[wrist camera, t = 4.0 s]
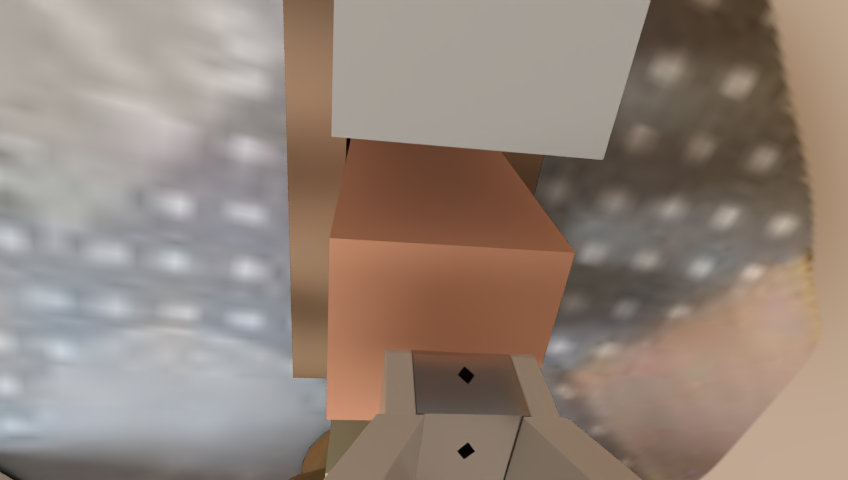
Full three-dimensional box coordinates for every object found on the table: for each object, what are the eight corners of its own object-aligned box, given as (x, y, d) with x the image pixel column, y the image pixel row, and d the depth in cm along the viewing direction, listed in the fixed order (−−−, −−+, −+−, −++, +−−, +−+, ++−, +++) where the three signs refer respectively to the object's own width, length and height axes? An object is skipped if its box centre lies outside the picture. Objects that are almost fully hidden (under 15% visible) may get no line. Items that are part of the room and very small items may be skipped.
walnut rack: (479, 344, 27) (490, 382, 24) (302, 337, 26) (293, 377, 23) (573, -99, 17) (607, -115, 15) (295, -142, 16) (278, -168, 13)
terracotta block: (464, 239, 21) (524, 422, 12) (350, 232, 20) (326, 419, 11) (483, 127, 18) (575, 253, 10) (355, 116, 18) (329, 237, 9)
